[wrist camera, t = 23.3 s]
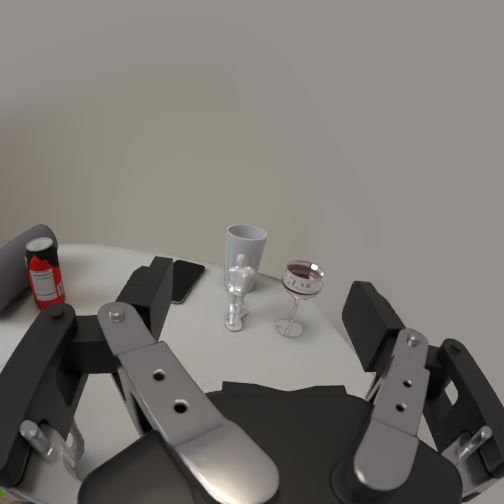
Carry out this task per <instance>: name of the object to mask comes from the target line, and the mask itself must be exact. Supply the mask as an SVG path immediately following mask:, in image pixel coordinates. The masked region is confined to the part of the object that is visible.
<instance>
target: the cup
mask: <svg viewBox="0 0 504 504" xmlns="http://www.w3.org/2000/svg"><path fill="white" fill-rule="evenodd" d="M267 236H268V235H267V233H266V232H265V231H264V230H262V229H261V228H258V227H255V226H251V225H243V224H236V225H231V226H229V227H228V228H227V238H226V261H225V262H226V263H225V280H224V285H225V287H227V286H228V284H229V283H231V282H230V281H229V280H228V270H229V269H230V268H231V267H235V266H237V261H236V259H237V256H238V255H239V254H244V255H245V256H246V261H245V262H244V265H243V267H250V268H254V270H255V274H254V276H253V277H252V278H250V279H249V284H248V287H247V291H246V292H250V291H251V290H253V288H254V283H255V279H256V275H257V271H258V268H259V264H260V260H261V257H262V253H263V250H264V247H265V243H266V239H267Z"/></svg>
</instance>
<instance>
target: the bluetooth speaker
mask: <svg viewBox="0 0 504 504" xmlns="http://www.w3.org/2000/svg"><path fill="white" fill-rule="evenodd" d="M41 237H46V238H50V239H52V242H53V245H54V246H55V247H56V249H58V243H57V240H56V237H55V235H54V233H53V232H52V230H51V229H50V228H49V227H48V226H46V225H43V224H40V225H36V226H34V227H32V228H30V229H28V230H27V231H25V232H24V233H22V234H20V235H19V236H17V237H16V238H14V239H13V240H11V241H10V242H8V243H7V244H6V245H4V246H3V247H2V248H0V310H1V309H2V308H4V307H5V306H6V305H7V304H8V303H9V302H10V301H14V300H15V299H17V298H18V297H19V296H20V295H21V294H22V293H23V292H24V291H25V290H26V289H27V288H28V287H29V286H30V285H31V283H30V279H29V274H28V270H27V265H26V260H25V253H26V250H27V248H26V245H27V243H28V242H30V241H31V240H33V239H36V238H41Z"/></svg>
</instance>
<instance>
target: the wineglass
mask: <svg viewBox="0 0 504 504" xmlns="http://www.w3.org/2000/svg"><path fill="white" fill-rule="evenodd" d="M285 266H286V270H285V272H284V274H283V276H282V284H283V288H284V289H285V290H286V292H287V293H288V294H289V295H290V296H291V297H293V298H294V299H295V302H294V306H293V311H292V315H291V319H290V320H289V319H283V320H280V321H278V322H277V323H276V329H277V330H278V331H279V332H280V333H281V334H283V335H285V336H288V337H296V336H299V335H300V334H301V333H302V331H303V329H302V327H301V325H300V324H299V323H297V322H295V321H293V318H294V315H295V312H296V310H297V307H298V304H299V301H301V300H308V299H310V298H313V297H315V296H316V295H317V294H318V293H319V292H320V291H321V289H322V286H323V278H324V277H325V275H326V273H325V271H324V270H323V269H322V268H321V267H320V266H318V265H317V264H314V263H312V262H309V261H305V260H292V261H288V262H287V263H286V265H285Z"/></svg>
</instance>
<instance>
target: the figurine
mask: <svg viewBox="0 0 504 504" xmlns="http://www.w3.org/2000/svg"><path fill="white" fill-rule="evenodd" d="M236 261H237V266H235V267H231V268H230V269H229V270H228V280H229V281H230V282H231V283H229V284H228V286H227V287H226V291H227V292H228V299H229V315H230V318H229V319H227V320H226V321H225V325H226V327H227V328H228V329H229V330H231V331H240V330H242V327H243V325H242V321H241V317H243V316H245V315H247V313H248V312H247V310H246V309H245V308H242V305H244V296H245V294H246V291H247V287H248V284H249V279H250V278H252V277H253V276H254V274H255V270H254V268H250V267H243V265H244V262H245V261H246V256H245V255H244V254H239V255H238V256H237V259H236ZM237 297H238V299H237V306H236V307H235V303H236V298H237Z"/></svg>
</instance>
